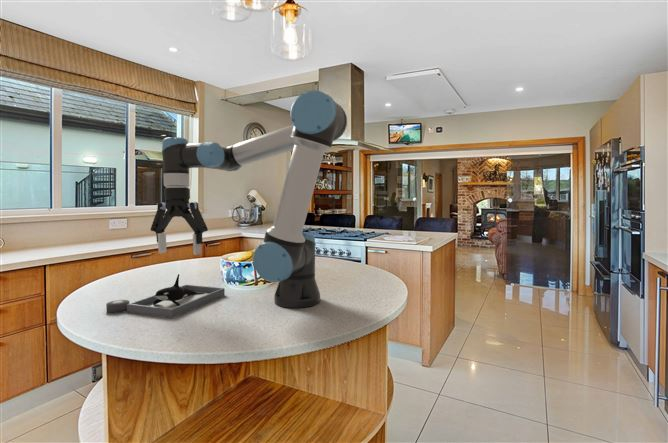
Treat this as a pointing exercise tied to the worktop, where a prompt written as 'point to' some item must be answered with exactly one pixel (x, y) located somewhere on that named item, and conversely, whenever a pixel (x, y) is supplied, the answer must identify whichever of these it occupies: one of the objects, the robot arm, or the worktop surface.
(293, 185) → the robot arm
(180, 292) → the toy
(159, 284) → the worktop surface
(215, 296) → the frame
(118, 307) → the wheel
